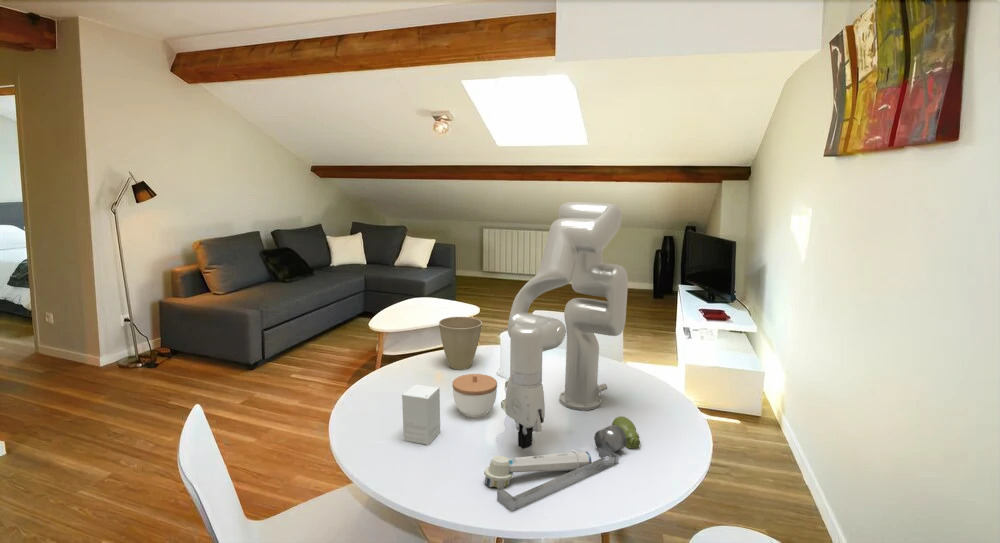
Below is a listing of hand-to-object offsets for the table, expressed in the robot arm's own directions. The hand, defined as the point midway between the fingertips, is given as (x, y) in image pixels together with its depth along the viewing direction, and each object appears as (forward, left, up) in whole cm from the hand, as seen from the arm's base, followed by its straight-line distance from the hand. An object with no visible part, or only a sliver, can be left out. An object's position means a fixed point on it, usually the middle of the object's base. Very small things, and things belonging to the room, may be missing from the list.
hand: (525, 445), depth 131 cm
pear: (-25, +10, -2) cm, 27 cm away
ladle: (-2, +12, -2) cm, 13 cm away
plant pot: (-18, -59, -2) cm, 62 cm away
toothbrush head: (+4, +9, -3) cm, 10 cm away
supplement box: (+17, -22, -2) cm, 27 cm away
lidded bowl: (-2, -26, -2) cm, 26 cm away
